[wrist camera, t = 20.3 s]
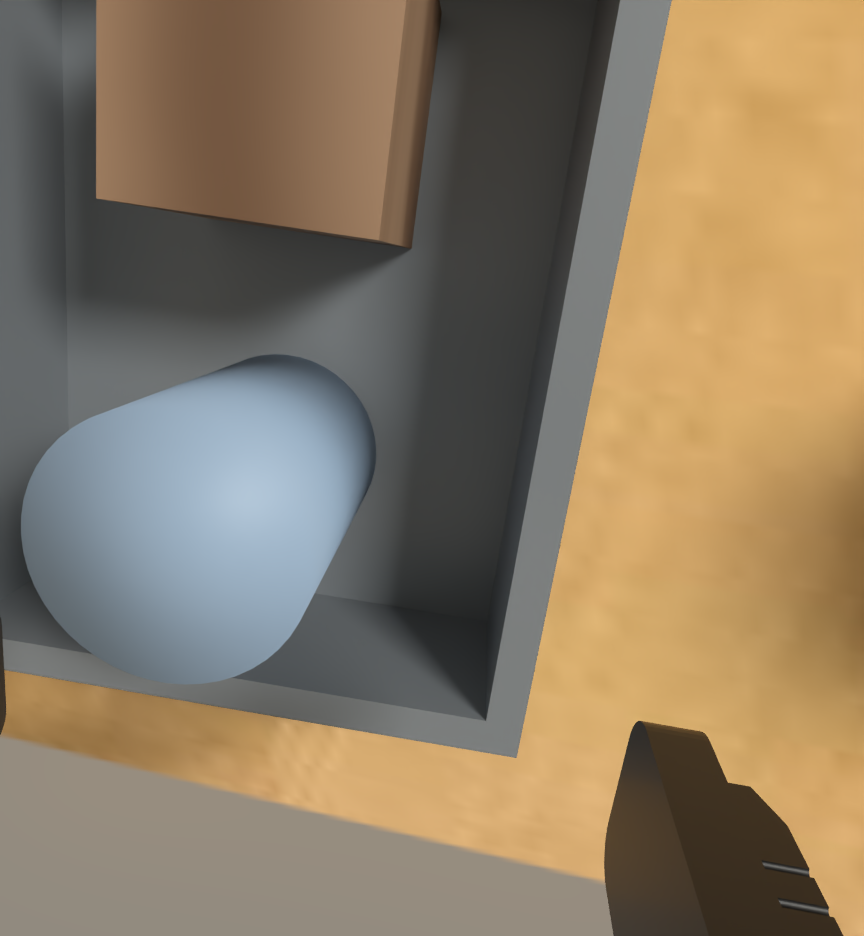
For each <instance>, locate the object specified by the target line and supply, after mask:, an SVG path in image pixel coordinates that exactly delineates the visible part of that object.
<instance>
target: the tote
mask: <svg viewBox="0 0 864 936" xmlns="http://www.w3.org/2000/svg"><path fill="white" fill-rule="evenodd" d="M439 1H440V6H441V11H442V15H441V23H440V30H439V38H438V46H437V54H436V62H435V69H434V77H433V85H432V93H431V101H430V109H429V116H428V124H427V132H426V140H425V148H424V155H423V163H422V171H421V179H420V187H419V195H418V202H417V210H416V218H415V226H414V234H413V242H412V249H411V248H404V247H397V246H390V245H384V244H377V243H370V242H363V241H357V240H350V239H343V238H336V237H330V236H323V235H316V234H310V233H303V232H296V231H289V230H283V229H276V228H269V227H262V226H256V225H249V224H242V223H236V222H229V221H222V220H215V219H209V218H203V217H198V216H192V215H186V214H181V213H175V212H170V211H164V210H158V209H153V208H147V207H142V206H136V205H130V204H125V203H119V202H114V201H108V200H103V199H97V198H96V0H0V617H1V622H2V636H3V656H4V670H8V671H14V672H20V673H26V674H32V675H37V676H43V677H49V678H55V679H61V680H66V681H72V682H78V683H84V684H90V685H96V686H101V687H107V688H113V689H119V690H125V691H130V692H136V693H142V694H148V695H154V696H160V697H165V698H171V699H177V700H183V701H189V702H194V703H200V704H206V705H212V706H218V707H224V708H229V709H235V710H241V711H247V712H253V713H258V714H264V715H270V716H276V717H282V718H288V719H293V720H299V721H305V722H311V723H317V724H322V725H328V726H334V727H340V728H346V729H352V730H357V731H363V732H369V733H375V734H381V735H386V736H392V737H398V738H404V739H410V740H415V741H421V742H427V743H433V744H439V745H445V746H450V747H456V748H462V749H468V750H474V751H479V752H485V753H491V754H497V755H503V756H509V757H514V758H516V757H517V753H518V748H519V743H520V738H521V733H522V728H523V723H524V718H525V714H526V709H527V704H528V699H529V694H530V689H531V684H532V679H533V674H534V670H535V665H536V660H537V655H538V650H539V645H540V640H541V635H542V631H543V626H544V621H545V616H546V611H547V606H548V601H549V596H550V591H551V587H552V582H553V577H554V572H555V567H556V562H557V557H558V552H559V548H560V543H561V538H562V533H563V528H564V523H565V518H566V513H567V508H568V504H569V499H570V494H571V489H572V484H573V479H574V474H575V469H576V465H577V460H578V455H579V450H580V445H581V440H582V435H583V430H584V425H585V421H586V416H587V411H588V406H589V401H590V396H591V391H592V386H593V382H594V377H595V372H596V367H597V362H598V357H599V352H600V347H601V342H602V338H603V333H604V328H605V323H606V318H607V313H608V308H609V303H610V299H611V294H612V289H613V284H614V279H615V274H616V269H617V264H618V259H619V255H620V250H621V245H622V240H623V235H624V230H625V225H626V220H627V216H628V211H629V206H630V201H631V196H632V191H633V186H634V181H635V176H636V172H637V167H638V162H639V157H640V152H641V147H642V142H643V137H644V132H645V128H646V123H647V118H648V113H649V108H650V103H651V98H652V93H653V89H654V84H655V79H656V74H657V69H658V64H659V59H660V54H661V49H662V45H663V40H664V35H665V30H666V25H667V20H668V15H669V10H670V6H671V1H672V0H439ZM270 354H281V355H291V356H296V357H301V358H304V359H307V360H310V361H313V362H315V363H317V364H319V365H321V366H323V367H325V368H327V369H328V370H330V371H331V372H333V373H335V374H336V375H337V376H338V377H339V378H341V379H342V380H343V381H344V382H345V383H346V384H347V385H348V386H349V387H350V388H351V389H352V390H353V391H354V393H355V394H356V395H357V397H358V398H359V399H360V401H361V402H362V404H363V406H364V408H365V410H366V411H367V413H368V416H369V419H370V421H371V424H372V427H373V431H374V435H375V442H376V464H375V471H374V475H373V478H372V482H371V485H370V487H369V489H368V491H367V493H366V495H365V497H364V499H363V501H362V503H361V505H360V507H359V509H358V511H357V513H356V514H355V516H354V518H353V520H352V522H351V524H350V526H349V528H348V530H347V532H346V534H345V536H344V538H343V539H342V541H341V543H340V545H339V547H338V549H337V551H336V553H335V555H334V557H333V559H332V561H331V563H330V564H329V566H328V568H327V570H326V572H325V574H324V576H323V578H322V580H321V582H320V584H319V586H318V588H317V589H316V591H315V593H314V595H313V597H312V599H311V601H310V603H309V605H308V607H307V609H306V611H305V613H304V614H303V616H302V618H301V620H300V622H299V624H298V625H297V627H296V628H295V630H294V631H293V633H292V635H291V636H290V637H289V639H288V640H287V641H286V642H285V643H284V644H283V645H282V646H281V647H280V649H279V650H278V651H276V652H275V653H274V654H273V655H272V656H270V657H269V658H268V659H267V660H266V661H264V662H262V663H261V664H259V665H257V666H256V667H254V668H253V669H251V670H249V671H246V672H244V673H242V674H240V675H237V676H235V677H231V678H228V679H225V680H221V681H217V682H210V683H204V684H185V685H184V684H171V683H163V682H158V681H153V680H148V679H145V678H142V677H138V676H135V675H132V674H129V673H127V672H125V671H122V670H120V669H118V668H116V667H113V666H112V665H110V664H108V663H106V662H105V661H103V660H101V659H99V658H98V657H96V656H95V655H93V654H92V653H91V652H89V651H88V650H86V649H85V648H84V647H82V646H81V645H80V644H79V643H78V642H77V641H76V640H74V639H73V638H72V637H71V636H70V635H69V634H68V633H67V632H66V631H65V630H64V629H63V628H62V627H61V625H60V624H59V623H58V622H57V621H56V620H55V619H54V617H53V616H52V614H51V613H50V612H49V610H48V609H47V607H46V606H45V604H44V603H43V601H42V599H41V597H40V596H39V594H38V592H37V590H36V588H35V586H34V584H33V581H32V579H31V576H30V574H29V571H28V568H27V564H26V561H25V557H24V553H23V546H22V539H21V513H22V507H23V500H24V496H25V493H26V489H27V486H28V483H29V480H30V478H31V476H32V474H33V472H34V470H35V468H36V466H37V464H38V463H39V461H40V460H41V458H42V457H43V455H44V454H45V453H46V451H47V450H48V449H49V448H50V447H51V446H52V445H53V444H54V443H55V442H56V441H57V439H58V438H60V437H61V436H62V435H63V434H65V433H66V432H67V431H69V430H70V429H71V428H73V427H74V426H76V425H78V424H79V423H81V422H83V421H85V420H87V419H88V418H91V417H93V416H96V415H99V414H101V413H104V412H107V411H109V410H112V409H115V408H117V407H120V406H123V405H125V404H128V403H131V402H133V401H136V400H139V399H142V398H144V397H147V396H150V395H152V394H155V393H158V392H160V391H163V390H166V389H168V388H171V387H174V386H176V385H179V384H182V383H184V382H187V381H190V380H192V379H195V378H198V377H200V376H203V375H206V374H208V373H211V372H214V371H216V370H219V369H222V368H224V367H227V366H230V365H232V364H235V363H238V362H240V361H243V360H246V359H248V358H252V357H256V356H261V355H270Z"/></svg>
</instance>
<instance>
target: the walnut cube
mask: <svg viewBox="0 0 864 936" xmlns="http://www.w3.org/2000/svg"><path fill="white" fill-rule="evenodd" d="M441 15H442V11H441V6H440V1H439V0H96V198H97V199H103V200H108V201H114V202H119V203H125V204H130V205H136V206H142V207H147V208H153V209H158V210H164V211H170V212H175V213H181V214H186V215H192V216H198V217H203V218H209V219H215V220H222V221H229V222H236V223H242V224H249V225H256V226H262V227H269V228H276V229H283V230H289V231H296V232H303V233H310V234H316V235H323V236H330V237H336V238H343V239H350V240H357V241H363V242H370V243H377V244H384V245H390V246H397V247H404V248H411V249H412V242H413V234H414V226H415V218H416V210H417V202H418V195H419V187H420V179H421V171H422V163H423V155H424V148H425V140H426V132H427V124H428V116H429V109H430V101H431V93H432V85H433V77H434V69H435V62H436V54H437V46H438V38H439V30H440V23H441Z"/></svg>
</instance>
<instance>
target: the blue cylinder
mask: <svg viewBox="0 0 864 936" xmlns="http://www.w3.org/2000/svg"><path fill="white" fill-rule="evenodd" d="M375 464H376V442H375V435H374V431H373V427H372V424H371V421H370V419H369V416H368V413H367V411H366V410H365V408H364V406H363V404H362V402H361V401H360V399H359V398H358V397H357V395H356V394H355V393H354V391H353V390H352V389H351V388H350V387H349V386H348V385H347V384H346V383H345V382H344V381H343V380H342V379H341V378H339V377H338V376H337V375H336V374H335V373H333V372H331V371H330V370H328V369H327V368H325V367H323V366H321V365H319V364H317V363H315V362H313V361H310V360H307V359H304V358H301V357H296V356H291V355H281V354H270V355H261V356H256V357H252V358H248V359H246V360H243V361H240V362H238V363H235V364H232V365H230V366H227V367H224V368H222V369H219V370H216V371H214V372H211V373H208V374H206V375H203V376H200V377H198V378H195V379H192V380H190V381H187V382H184V383H182V384H179V385H176V386H174V387H171V388H168V389H166V390H163V391H160V392H158V393H155V394H152V395H150V396H147V397H144V398H142V399H139V400H136V401H133V402H131V403H128V404H125V405H123V406H120V407H117V408H115V409H112V410H109V411H107V412H104V413H101V414H99V415H96V416H93V417H91V418H88V419H87V420H85V421H83V422H81V423H79V424H78V425H76V426H74V427H73V428H71V429H70V430H69V431H67V432H66V433H65V434H63V435H62V436H61V437H60V438H58V439H57V441H56V442H55V443H54V444H53V445H52V446H51V447H50V448H49V449H48V450H47V451H46V453H45V454H44V455H43V457H42V458H41V460H40V461H39V463H38V464H37V466H36V468H35V470H34V472H33V474H32V476H31V478H30V480H29V483H28V486H27V489H26V493H25V496H24V500H23V507H22V513H21V539H22V546H23V553H24V557H25V561H26V564H27V568H28V571H29V574H30V576H31V579H32V581H33V584H34V586H35V588H36V590H37V592H38V594H39V596H40V597H41V599H42V601H43V603H44V604H45V606H46V607H47V609H48V610H49V612H50V613H51V614H52V616H53V617H54V619H55V620H56V621H57V622H58V623H59V624H60V625H61V627H62V628H63V629H64V630H65V631H66V632H67V633H68V634H69V635H70V636H71V637H72V638H73V639H74V640H76V641H77V642H78V643H79V644H80V645H81V646H82V647H84V648H85V649H86V650H88V651H89V652H91V653H92V654H93V655H95V656H96V657H98V658H99V659H101V660H103V661H105V662H106V663H108V664H110V665H112V666H113V667H116V668H118V669H120V670H122V671H125V672H127V673H129V674H132V675H135V676H138V677H142V678H145V679H148V680H153V681H158V682H163V683H171V684H184V685H185V684H204V683H210V682H217V681H221V680H225V679H228V678H231V677H235V676H237V675H240V674H242V673H244V672H246V671H249V670H251V669H253V668H254V667H256V666H257V665H259V664H261V663H262V662H264V661H266V660H267V659H268V658H269V657H270V656H272V655H273V654H274V653H275V652H276V651H278V650H279V649H280V647H281V646H282V645H283V644H284V643H285V642H286V641H287V640H288V639H289V637H290V636H291V635H292V633H293V631H294V630H295V628H296V627H297V625H298V624H299V622H300V620H301V618H302V616H303V614H304V613H305V611H306V609H307V607H308V605H309V603H310V601H311V599H312V597H313V595H314V593H315V591H316V589H317V588H318V586H319V584H320V582H321V580H322V578H323V576H324V574H325V572H326V570H327V568H328V566H329V564H330V563H331V561H332V559H333V557H334V555H335V553H336V551H337V549H338V547H339V545H340V543H341V541H342V539H343V538H344V536H345V534H346V532H347V530H348V528H349V526H350V524H351V522H352V520H353V518H354V516H355V514H356V513H357V511H358V509H359V507H360V505H361V503H362V501H363V499H364V497H365V495H366V493H367V491H368V489H369V487H370V485H371V482H372V478H373V475H374V471H375Z"/></svg>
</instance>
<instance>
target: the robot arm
mask: <svg viewBox="0 0 864 936" xmlns="http://www.w3.org/2000/svg"><path fill="white" fill-rule="evenodd" d="M5 716H6V696H5V676H4V656H3V636H2V622H1V617H0V734H1V732H2V729H3V726H4V722H5ZM604 869H605V883H606V891H607V897H608V903H609V909H610V915H611V922H612V928H613V934H614V936H843V934H842V932H841V930H840V928H839V926H838V924H837V922H836V920H835V918H834V917H830V916H829V913H828V909H829V907H828V905H827V903H826V901H825V899H824V897H823V895H822V893H821V891H820V889H819V887H818V885H817V883H816V881H815V879H814V878H811V877H810V876H809V867H808V865H807V863H806V861H805V860H804V858H803V856H802V854H801V852H800V850H799V848H798V846H797V844H796V842H795V840H794V838H793V836H792V834H791V832H790V830H789V828H788V826H787V825H786V824H785V823H784V822H783V821H782V820H781V819H780V817H779V816H778V815H777V814H776V813H775V812H774V811H773V810H772V809H771V808H770V807H769V806H768V805H767V804H766V803H765V802H764V801H763V800H762V799H761V797H760V796H759V795H758V794H757V793H756V792H755V791H754V790H753V789H752V788H751V787H749V786H743V785H738V784H732V783H728V782H727V780H726V778H725V775H724V773H723V771H722V768H721V766H720V764H719V762H718V759H717V757H716V755H715V752H714V750H713V748H712V745H711V743H710V741H709V739H708V737H707V736H706V735H705V733H703V732H700V731H694V730H688V729H683V728H677V727H671V726H666V725H660V724H654V723H649V722H643V721H638V722H636V724H635V725H634V727H633V729H632V731H631V734H630V738H629V742H628V746H627V750H626V754H625V758H624V762H623V766H622V770H621V774H620V778H619V782H618V786H617V790H616V794H615V798H614V802H613V806H612V810H611V814H610V819H609V823H608V827H607V833H606V841H605V857H604Z"/></svg>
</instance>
